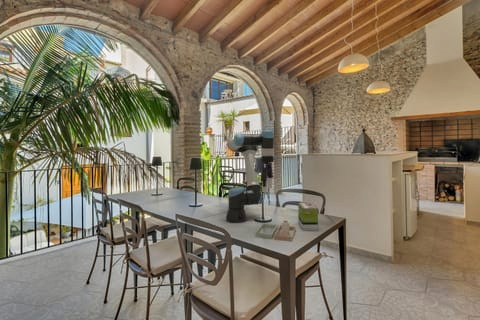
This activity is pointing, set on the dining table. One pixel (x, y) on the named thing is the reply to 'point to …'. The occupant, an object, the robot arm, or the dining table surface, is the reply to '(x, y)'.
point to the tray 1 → (265, 233)
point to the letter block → (285, 228)
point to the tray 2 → (287, 238)
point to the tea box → (308, 216)
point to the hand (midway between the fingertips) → (267, 190)
